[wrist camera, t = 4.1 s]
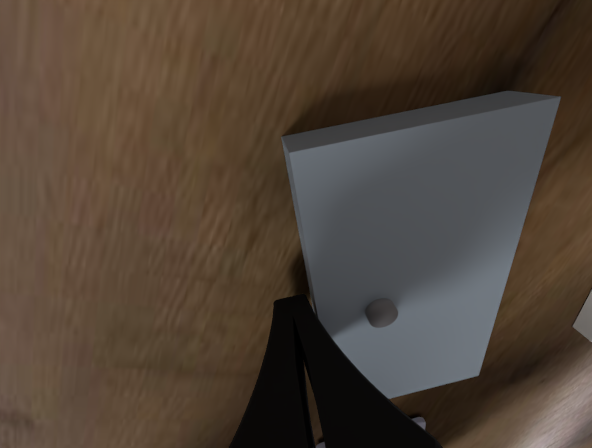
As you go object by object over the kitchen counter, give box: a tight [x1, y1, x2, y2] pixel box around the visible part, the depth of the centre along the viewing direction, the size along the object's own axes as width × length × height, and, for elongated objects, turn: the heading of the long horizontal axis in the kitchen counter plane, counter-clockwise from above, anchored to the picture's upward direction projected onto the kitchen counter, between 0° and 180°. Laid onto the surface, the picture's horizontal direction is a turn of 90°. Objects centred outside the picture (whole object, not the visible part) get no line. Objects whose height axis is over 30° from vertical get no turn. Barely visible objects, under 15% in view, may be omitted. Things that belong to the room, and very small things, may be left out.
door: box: [281, 91, 561, 399], centre depth 12 cm, size 14×8×3 cm, turn 9°
